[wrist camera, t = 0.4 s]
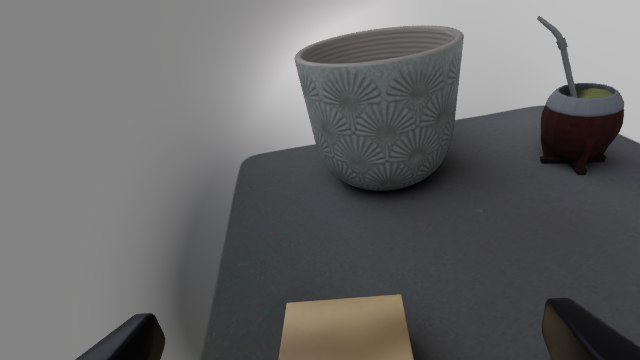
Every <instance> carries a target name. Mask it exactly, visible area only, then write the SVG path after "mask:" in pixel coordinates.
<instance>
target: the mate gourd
mask: <svg viewBox="0 0 640 360" xmlns="http://www.w3.org/2000/svg"><path fill="white" fill-rule="evenodd" d="M537 19H538V20H539V21H540V22H541V23H542V24H543V25H544V26H545V27H547V28H548V29H549V30H550V31H551V32H552V33H553V35H554V36H555V37H556V39H557V45H558V48H559V49H560V50H561V55H562V60H563V64H564V69H565V73H566V78H567V82H568V85H565V86H562V87H560V88H558V89H556V90H555V91H554V92H553V93H552V94H551V96H550V97H549V98H548V100H547V102H546V106H545V108H544V110H543V112H542V116H541V145H542V150H543V156H542V157H540V161H541V163H569V164H570V165H571V166H572V168H573V169H574V170H575V172H576V173H577V174H579V175H584V174H586V172H587V170H586V169H585V164H586V162H603V161H605V159H606V156H605V155H603V154H604V153H605V151H606V149H607V148H608V146H609V145H610V144H611V142H612V141H613V140H614V139H615V137H616V136H617V135H618V133H619V131H620V129H621V127H622V124H623V117H624V101H623V99H622V96H621V95H620V93H619V92H618V91H617V90H616V89H614V88H613V87H610V86H607V85H602V84H595V83H577V84H574V81H573V77H572V72H571V68H570V64H569V59H568V53H567V48H566V47H567V43H566V40H565V38H563V37H562V35H561V33H560V32H559V31H558V30H557V29H556V28H555V27H554V26H552V25H551V24H550V23H548V22H547V21H546V20H544V19H543V18H541V17H540V16H539V17H538V18H537Z"/></svg>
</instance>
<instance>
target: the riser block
mask: <svg viewBox="0 0 640 360" xmlns="http://www.w3.org/2000/svg"><path fill="white" fill-rule="evenodd" d="M278 360H414V358H413V353H412V348H411V342H410V337H409V332H408V327H407V322H406V316H405V311H404V306H403V301H402V296H401V295H387V296H373V297H360V298H347V299H334V300H320V301H307V302H294V303H287V306H286V312H285V319H284V326H283V333H282V339H281V346H280V353H279V359H278Z"/></svg>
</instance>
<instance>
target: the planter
mask: <svg viewBox="0 0 640 360" xmlns="http://www.w3.org/2000/svg"><path fill="white" fill-rule="evenodd" d="M463 38H464V37H463V34H462V32H460V31H459V30H457V29H454V28H449V27H442V26H403V27H392V28H383V29H375V30H368V31H362V32H356V33H351V34H347V35H342V36H338V37H334V38H330V39H327V40H323V41H320V42H317V43H315V44H312V45H310V46H307V47H305V48H303V49H302V50H300V51H299V52H298V53H297V54H296V56H295V63H296V67H297V70H298V75H299V78H300V83H301V86H302V91H303V95H304V98H305V102H306V106H307V110H308V114H309V118H310V122H311V126H312V130H313V134H314V138H315V142H316V145H317V148H318V151H319V153H320V155H321V157H322V159H323V161H324V163H325V164H326V166H327V167H328V168H329V170H330V171H331V172H332V173H333V174H334V175H335V176H336V177H338V178H339V179H341V180H342V181H344V182H345V183H347V184H349V185H351V186H354V187H358V188H362V189H367V190H376V191H385V190H395V189H400V188H404V187H407V186H410V185H413V184H415V183H418V182H420V181H422V180H423V179H425V178H426V177H428V176H429V175H430V174H431V173H432V172H434V171H435V170H436V169H437V168H438V166H439V165H440V164H441V163H442V161H443V159H444V158H445V156H446V154H447V152H448V149H449V146H450V144H451V140H452V136H453V130H454V122H455V112H456V103H457V93H458V85H459V75H460V66H461V57H462V48H463Z"/></svg>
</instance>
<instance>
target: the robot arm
mask: <svg viewBox="0 0 640 360" xmlns="http://www.w3.org/2000/svg"><path fill="white" fill-rule="evenodd" d="M542 333H543V337H544V340H545V343H546V346H547V348H548V351H549V354H550V357H551V359H552V360H640V347H639V346H638V345H636V344H635V343H633V342H632V341H631V340H629V339H628V338H626V337H625V336H623V335H622V334H621V333H619V332H618V331H616V330H615V329H613V328H612V327H611V326H609V325H608V324H606V323H605V322H603V321H602V320H601V319H599V318H598V317H596V316H595V315H593V314H592V313H591V312H589V311H588V310H586V309H585V308H583V307H582V306H581V305H579V304H578V303H576V302H575V301H573V300H572V299H569V298H550V299H548V300H547V301H546V304H545V310H544V316H543V322H542ZM164 346H165V337H164V333H163V331H162V329H161V327H160V325H159V323H158V321H157V319H156V317H155V315H153V314H151V313H145V314H136V315H134V316H132V317H131V318H130V319H128V320H127V321H126V322H125V323H123V324H122V325H121V326H119V327H118V328H117V329H115V330H114V331H113V332H111V333H110V334H109V335H107V336H106V337H105V338H104V339H102V340H101V341H99V342H98V343H97V344H95V345H94V346H93V347H92V348H90V349H89V350H88V351H86V352H85V353H84V354H82V355H81V356H80V357H78V358H77V359H76V360H160V359H161V356H162V352H163V349H164Z"/></svg>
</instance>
